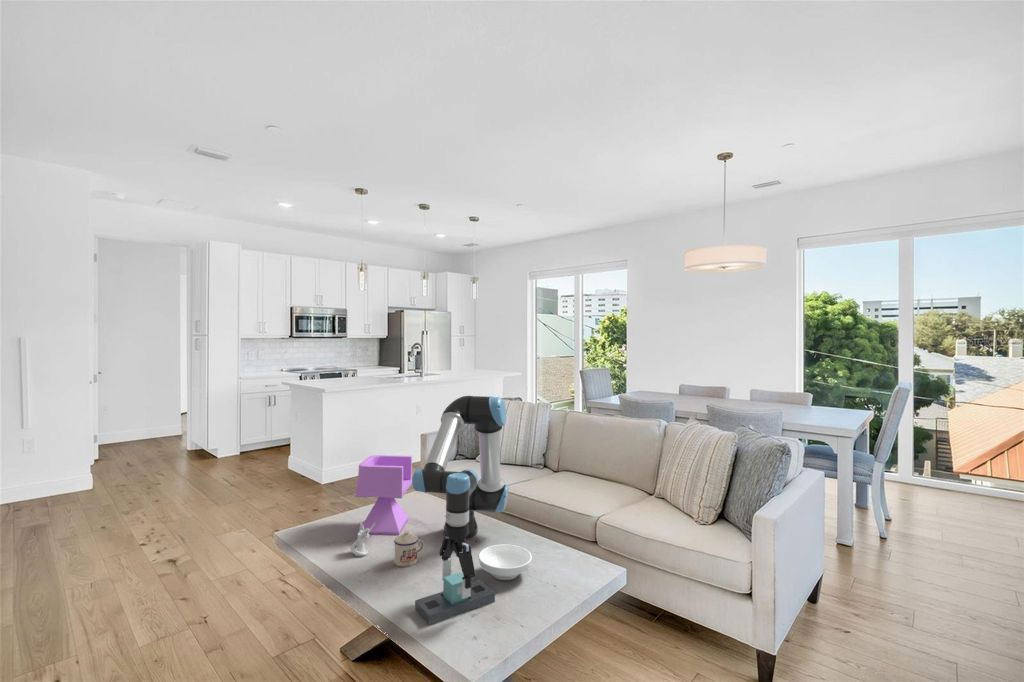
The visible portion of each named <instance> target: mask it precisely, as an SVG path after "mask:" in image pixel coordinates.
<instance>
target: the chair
mask: <svg viewBox="0 0 1024 682" xmlns="http://www.w3.org/2000/svg"><path fill="white" fill-rule="evenodd" d="M412 479H413V456H412V455H394V454H393V455H388V454H387V455H386V454H377V455H376V454H374V455H369V456H367V458H365V459H364V460H363V461H361V463H359V465H358V474H357V483H356V489H355V498H372V497H374V498H377V500H375V503H374V505H372V508H371V510H370V511H369V513H368V514H367V517H366V518H365V520H364V521H363V522H362V523H363V527H364V530H365V529H367V528H368V529H370V528H371V527H372V525H373V524H374V523H375V525H374V527H373V528H372V529H371V530H370V532H369V534H370V535H378V536H379V535H386V536H391V535H392V536H399V535H401V532H403V528H404V527H405V525H406V523H408V520H409V516H408V515H407V513H406V511H404V509H403V508H402V507H401V505H400V504H399V503H398V501H397V500H396V499H403V497H404V496H405V494H406V492H407V491H408V489H410V488H411V486H413V485H412Z"/></svg>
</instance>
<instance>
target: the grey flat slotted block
mask: <svg viewBox="0 0 1024 682" xmlns="http://www.w3.org/2000/svg"><path fill="white" fill-rule="evenodd" d="M494 601H495V602H496V592H495V591H494V590H492V589H491V587H489V586H488V585H486V584H485V583H484V582H483V581H482V580H481V579H477V580H474V581H471V596H470V597H468V600H465V601H462V602H459V603H456V604H454V605H450V604H449V603H448V602H447V601H446V600H445V599H444V598H443V591H440V592H436V593H434V594H431V595H426V596H425V597H421V598H418V599H416V600H414V611H416V613H417V614H418V615H419V616H420V618H422V619H423V621H424V622H425V623H426V625H428V626H432V625H434V624H437V623H440V622H442V621H445V620H448V619H451V618H453V617H456V616H458V615H461V614H463V613H464V614H465V613H467V612H470V611H472V610H475V609H478V608H480V607H483V605H484V606H487V605H490V604H492V603H494ZM486 604H487V605H486Z"/></svg>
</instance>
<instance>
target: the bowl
mask: <svg viewBox="0 0 1024 682" xmlns="http://www.w3.org/2000/svg"><path fill="white" fill-rule="evenodd" d="M532 560H533V557H532V554H531V552H530V551H529V550H528V549H526V548H524V547H523V546H519V545H515V544H509V543H508V544H506V543H504V544H495V545H490V546H488V547H485V548H483V549H482V550H481V551H480V552H479V553H478V561H479V565H480V567H481V568H482V569H483V570H484V571H485V572H487V573H489V574H490V575H491V576H492V577H494V578H495V579H497V580H500V581H501V580H502V581H511V580H514V579H516V578H517V577H518V576H519V575H520V574H522V573H524V572H526V571H528V569H530V567H531V564H532Z"/></svg>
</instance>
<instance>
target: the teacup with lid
mask: <svg viewBox="0 0 1024 682" xmlns="http://www.w3.org/2000/svg"><path fill="white" fill-rule="evenodd" d="M393 542H394V564H395V565H396V566H397V567H403V568H404V567H405V568H407V567H411V566H413V565H415V564H416V563H417V562H418V554H419V553H421V552H422V551H423V549H424V547H425V542H424V540H423V539H419V537H418V536H417V535H416V534H413V533H410V531H409V530H406V531H403V533H400V534H399V535H396V537H394V541H393ZM418 543H421V546H420V547H418V546H419V545H418Z"/></svg>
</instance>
